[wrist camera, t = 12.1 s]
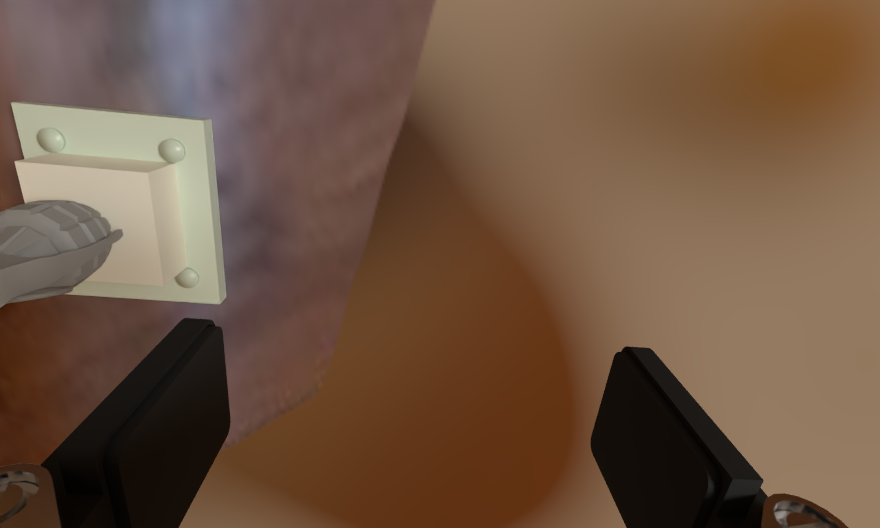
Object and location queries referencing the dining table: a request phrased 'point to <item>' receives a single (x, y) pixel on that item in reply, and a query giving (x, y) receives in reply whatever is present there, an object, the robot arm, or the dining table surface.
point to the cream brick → (118, 209)
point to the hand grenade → (50, 248)
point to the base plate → (148, 141)
